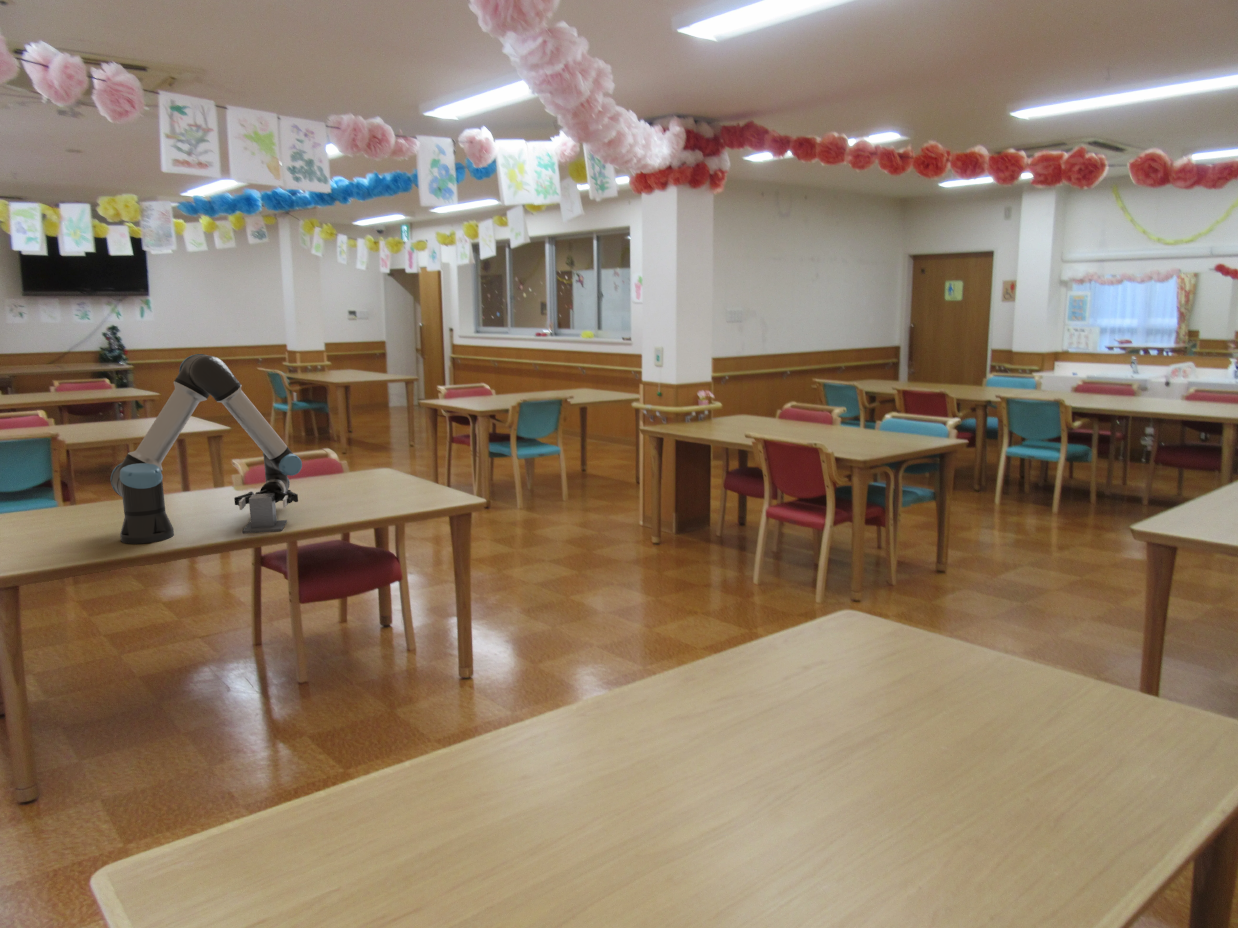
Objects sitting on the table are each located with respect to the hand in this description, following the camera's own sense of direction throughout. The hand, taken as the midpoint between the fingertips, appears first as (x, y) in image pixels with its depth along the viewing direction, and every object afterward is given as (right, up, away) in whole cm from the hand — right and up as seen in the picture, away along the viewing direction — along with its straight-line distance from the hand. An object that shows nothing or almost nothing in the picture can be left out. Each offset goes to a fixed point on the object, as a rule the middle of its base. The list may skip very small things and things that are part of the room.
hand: (262, 504), depth 291 cm
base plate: (-1, -8, +4) cm, 9 cm away
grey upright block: (-1, -7, +4) cm, 8 cm away
